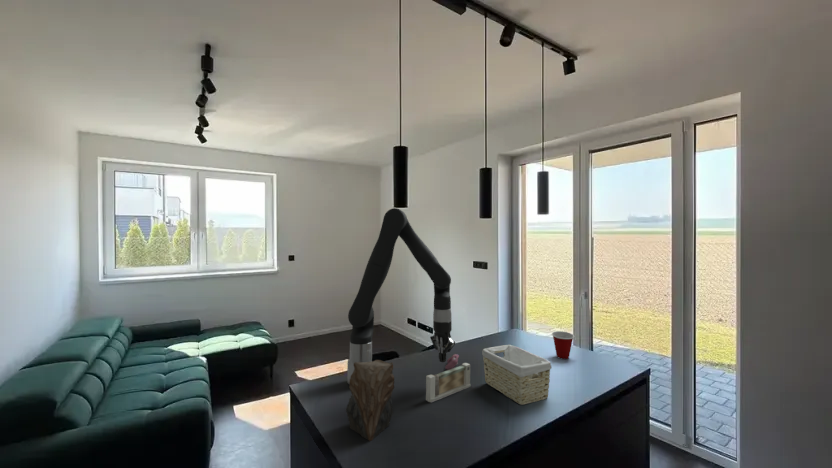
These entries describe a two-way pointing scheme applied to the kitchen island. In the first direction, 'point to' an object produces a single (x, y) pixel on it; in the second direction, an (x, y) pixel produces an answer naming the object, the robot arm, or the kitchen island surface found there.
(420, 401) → the kitchen island surface
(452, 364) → the video game controller
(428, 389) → the gate posts
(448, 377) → the panel
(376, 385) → the owl
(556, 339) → the plastic cup
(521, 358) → the storage basket
